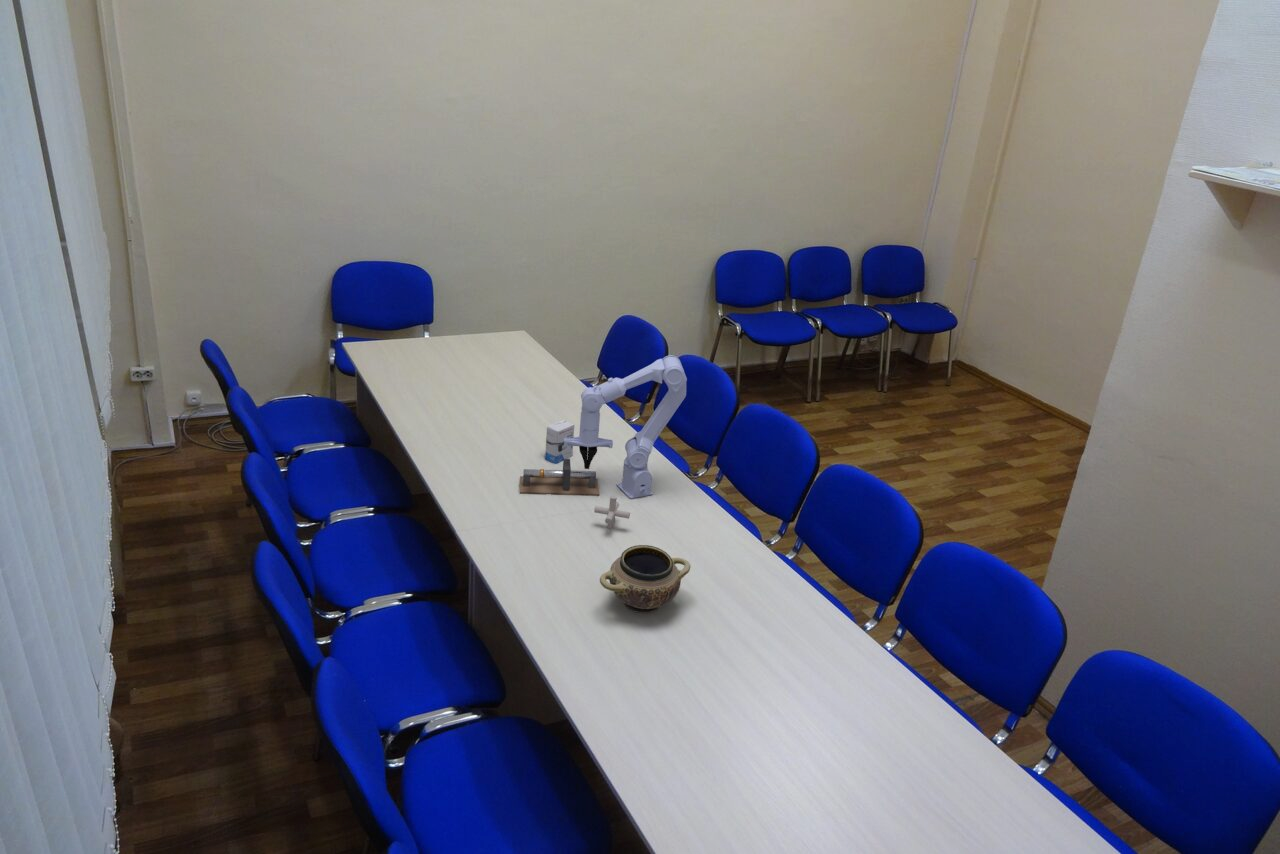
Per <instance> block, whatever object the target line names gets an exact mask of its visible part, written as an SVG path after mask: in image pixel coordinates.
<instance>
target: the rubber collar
mask: <svg viewBox="0 0 1280 854" xmlns="http://www.w3.org/2000/svg"><path fill="white" fill-rule="evenodd" d="M562 462H563V463H562V470H564V474H563V478H562V482H563V490H570V474H571V471H572V468H571V467H572V466H571V458H567V459H563V461H562Z"/></svg>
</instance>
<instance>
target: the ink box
mask: <svg viewBox="0 0 1280 854" xmlns="http://www.w3.org/2000/svg"><path fill="white" fill-rule="evenodd" d="M574 435H575V423H572V422H570V421H568V420H566V419H562V420H559V421H557V422H554V423H551V424H548V425H547V427H546V435H545V436H546V437H545V439H546V440H545V454H544V459H545V460H546V461H549V462H551V463H553V464H555V465H556V464H558V463H561V462H563V459H570V458H571V457H573V454H574V453H573V452H574V450H573V449H574V448H573V447H574V446H568V447H564V438H574V437H575V436H574Z"/></svg>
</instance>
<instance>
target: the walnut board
mask: <svg viewBox="0 0 1280 854" xmlns="http://www.w3.org/2000/svg"><path fill="white" fill-rule="evenodd" d="M588 482H589V479H575V478H570V490H563V482H562V478H539V477H530V487H523V475H522V476H521V475H520V477H519V495H546V494H551V495H553V496H554V495H555V496H556V495H557V496H590V497H591V496H592V497H599V496H600V488H599V481H598V477H596V487H595V488H589V484H588Z"/></svg>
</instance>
